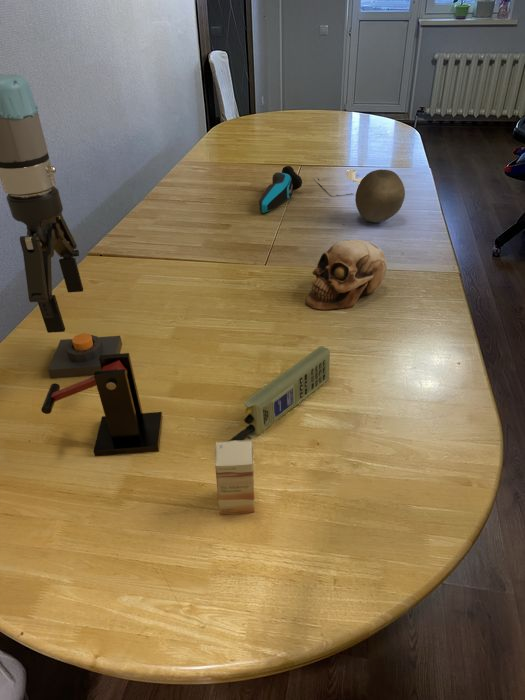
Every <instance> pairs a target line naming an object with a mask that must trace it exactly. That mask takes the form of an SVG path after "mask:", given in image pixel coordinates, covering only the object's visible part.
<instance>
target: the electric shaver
mask: <svg viewBox="0 0 525 700" xmlns="http://www.w3.org/2000/svg"><path fill="white" fill-rule="evenodd" d="M271 181H272V183H271V184H269V185H268V186H267V187H266V188H265V190H264V191H263V193H262V194H261V195H260V198H259V202H258V206H259V212H260V213H261V214H265V213H267V212H270V211H272V210H274V209H276V208H278V207H279V206H280V205H282V204H283V203H284V202H287V201H288V200H289V199H291V198H292V195H293V192H294V191H296V190H298V189H300V188H301V187H302V186H303V179H302V177H301V176H300V175H299V174H298V173H296V171H295V169H294V168H293V167H292V166H291V165H285V166H283V168H281V172H280V171H278V172H275V173H274V174H273V175H272V180H271ZM290 197H291V198H290Z"/></svg>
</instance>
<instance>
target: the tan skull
mask: <svg viewBox="0 0 525 700" xmlns="http://www.w3.org/2000/svg"><path fill="white" fill-rule="evenodd" d="M386 259H387V258H386V256H385V254H384V252H383V251H382V250H381V248H380V247H378V246H377V245H375V244H374V243H372V242H369V241H366V240H363V239H347V240H341V241H337V242H335V243H333V245H331V246H330V247H329V248H328V250H327V251H325V252H323V253H322V254H321V256H320V258H319V260H318V262H317V265H316V267H315V269H314V270H312V275H313V276H315V279H314V280H313V282H312V285H311V290H310V291H309V293H308V294H307V295H306V297H305V299H304V303H305V304H306V305H308V306H309V307H310V308H312V309H316V310H321V311H327V310H334V309H337V310H340V309H343V308H346V309H348V308H352V307H353V306H354V305H355V304H356V303H357V301H358V300H359V298H360V296H367V295H371V294H372V293H373V292H375V291H376V290H377V289H378V288H379V287H380V286H381V284H382V283H383V281H384V279H385V276H386V272H387V267H388V265H387V260H386Z"/></svg>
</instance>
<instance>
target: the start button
mask: <svg viewBox="0 0 525 700" xmlns="http://www.w3.org/2000/svg"><path fill="white" fill-rule="evenodd" d="M91 335H92V334H89V333H79V334H77V335H75V336H73V337H72V338H71V339H72V342H73V346H74V349H75V350H77V351H82V350H87V349H89V348H91V347H92V346H93V341H92V337H91Z"/></svg>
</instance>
